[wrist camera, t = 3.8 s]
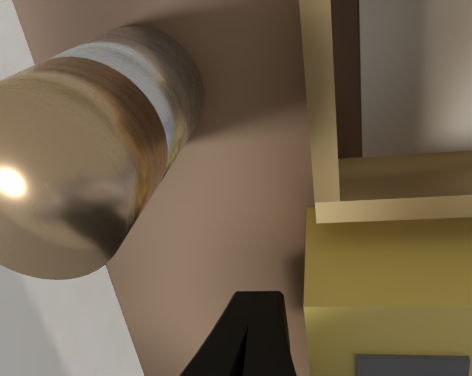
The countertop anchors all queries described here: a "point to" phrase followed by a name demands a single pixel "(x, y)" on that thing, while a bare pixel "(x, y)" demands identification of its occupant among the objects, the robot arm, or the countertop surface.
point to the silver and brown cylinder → (90, 147)
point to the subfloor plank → (280, 145)
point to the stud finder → (389, 297)
